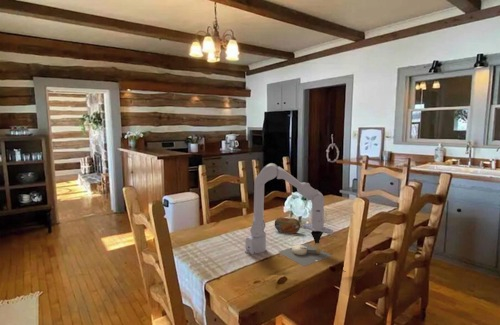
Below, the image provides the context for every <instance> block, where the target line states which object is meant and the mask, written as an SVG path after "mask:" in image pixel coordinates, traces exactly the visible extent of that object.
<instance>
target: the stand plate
mask: <svg viewBox="0 0 500 325" xmlns="http://www.w3.org/2000/svg"><path fill="white" fill-rule="evenodd" d="M301 245H303V246H306V247H307V248H311V249H315V246H312V245H310V244H308V243H302V244H301ZM278 254H280V255H282V256H284V257H286V258H288V259H289V260H292V261H294V262H295V263H297V264H298V265H301V266H303V267H305V266H308V265H312V264H314V263H317V262H320V261H323V260H325V259H328V258H331V257H333V255H332V254H330V253H328V252H326V251H324V250H322V249H321V253H320V254H315V253H307V254H305V255H296V254H293V253H292V247H288V248H286V249H282V250H279V251H278Z"/></svg>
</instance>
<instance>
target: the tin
mask: <svg viewBox="0 0 500 325" xmlns="http://www.w3.org/2000/svg"><path fill="white" fill-rule="evenodd" d="M274 227H275V229H276V230H277V231H278V232H280V233H288V234H296V233H298V232H299V231H300V229H301V223H300V220H298V219H296V218H294V217H285V216H280V217H277V218H276V219H275V220H274Z"/></svg>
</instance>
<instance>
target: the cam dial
mask: <svg viewBox="0 0 500 325" xmlns="http://www.w3.org/2000/svg"><path fill="white" fill-rule="evenodd" d="M314 247H315V249H311V248H307V247H306V246H303V245H302V244H296V245H293V246H292V247H291V248H292V253H293V254H296V255H305V254H307V253H315V254H320V253H321V250H322V248H321V247H322V244H321V243H320V242H319V243H315V242H314Z"/></svg>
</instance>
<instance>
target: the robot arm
mask: <svg viewBox="0 0 500 325" xmlns="http://www.w3.org/2000/svg"><path fill="white" fill-rule="evenodd" d="M275 178H276V179H277V180H284V181H286V182H288V183H289V184H290V185H291V186H293V187H294V188H296V190H297V193H299V194H300V195H301V196H302V197H304V198H305V199H307V201H311V212H310V214H311V215H310V216H311V218H310V220H311V221H310V223H309V224H308V223H303V224H302V229H306V230H310V231H311V232H310V235H311V236H312V238H313V241H314V244H315V243H320V240H321V238H322V235H323V234H328V235H330V236H331V235H333V233H334V232H333V231H334V229H331V228H330V227H329V228H328V227H326V226H324V222H325V221H324V220H325V219H324V217H325V208H324V206H325V203H326V200H325V197H324V195H323V193H322V192H321V191H319V190H318V189H315V188H313V187H312V186H311V184H310V183H309V182H305V181H304V182H300V180H298V179H297V178H296V177H294V175H292V174H290V173H289V172H288V171H286V170H285V169H284V168H282V167H281V166H280V165H279V166H278V165H277V164H276V163H273V162H270V163H268V164H266V165H265V166H263V168H262V169H261V170H260V172H259V173H258V174H257V176H256V177H255V179H254V186H253V187H254V188H253V190H254V191H253V218H252V225H251V227H250V229H249V230H250V235H249V236H248V237H246V238H245V250H244V252H245V254H248V253H249V254H251V255H255V254H260V253H264V252H266V249H267V244H266V243H267V239H266V238H267V237H266V236H267V234H266V232H265V228H266V222H265V218H264V217H265V216H264V208H265V206H264V204H265V184H266V183H267V182H269V181H271V180H273V179H275Z"/></svg>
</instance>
